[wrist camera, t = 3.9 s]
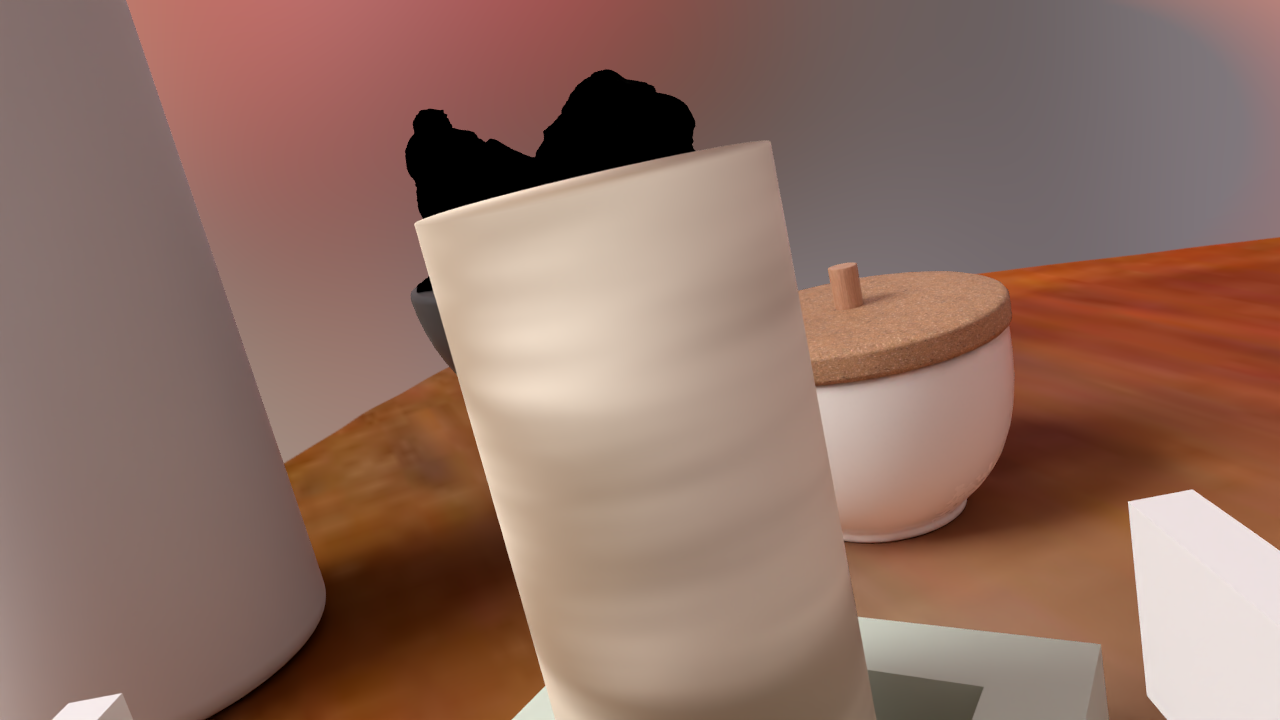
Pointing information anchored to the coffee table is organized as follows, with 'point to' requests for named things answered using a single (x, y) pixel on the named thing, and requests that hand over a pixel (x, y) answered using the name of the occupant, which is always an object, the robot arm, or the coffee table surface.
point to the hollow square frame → (964, 675)
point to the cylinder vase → (126, 403)
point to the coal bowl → (540, 157)
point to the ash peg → (655, 440)
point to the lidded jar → (909, 393)
